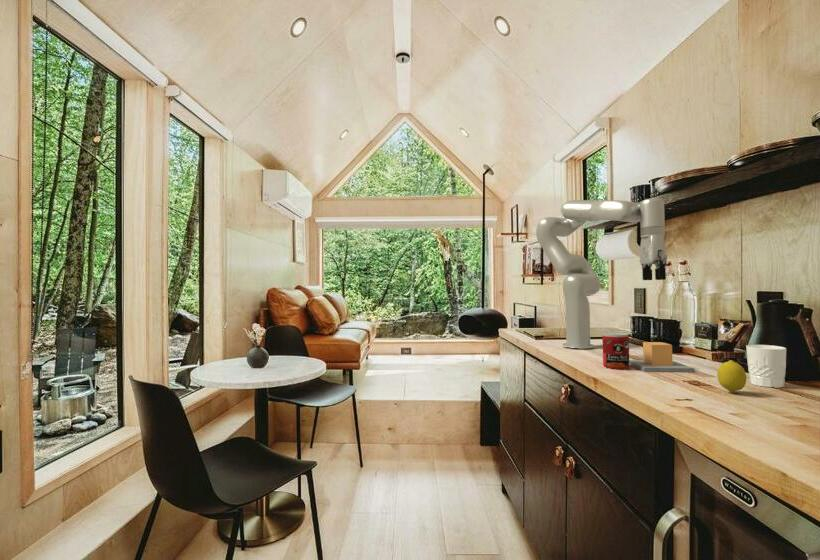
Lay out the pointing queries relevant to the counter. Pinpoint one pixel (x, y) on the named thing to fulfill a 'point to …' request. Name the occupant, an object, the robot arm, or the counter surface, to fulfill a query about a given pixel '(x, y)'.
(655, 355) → the tan block
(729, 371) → the lemon
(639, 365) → the stub board
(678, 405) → the counter surface
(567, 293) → the robot arm
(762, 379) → the white cup
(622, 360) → the canned food
